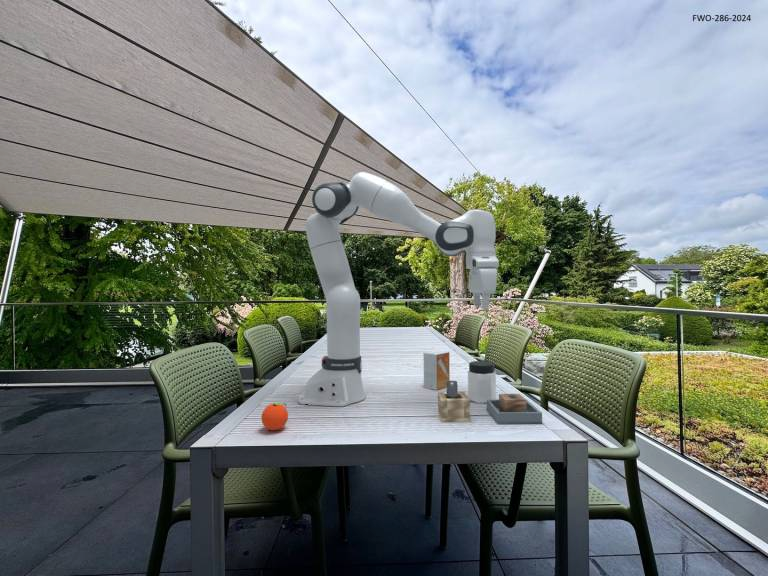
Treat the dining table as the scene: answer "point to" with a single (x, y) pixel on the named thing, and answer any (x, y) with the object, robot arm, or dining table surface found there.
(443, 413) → the beech block
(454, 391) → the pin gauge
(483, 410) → the dining table surface
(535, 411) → the tray
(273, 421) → the clementine
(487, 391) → the jar
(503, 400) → the walnut block
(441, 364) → the small box
